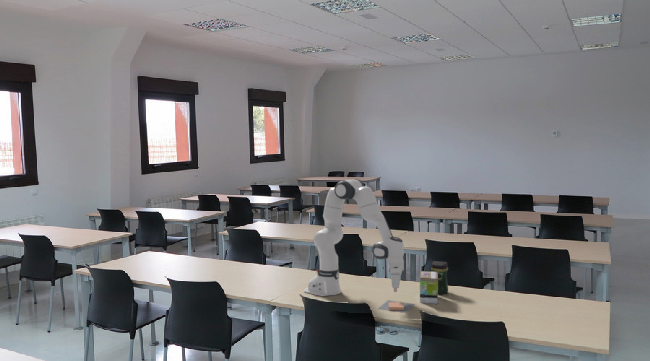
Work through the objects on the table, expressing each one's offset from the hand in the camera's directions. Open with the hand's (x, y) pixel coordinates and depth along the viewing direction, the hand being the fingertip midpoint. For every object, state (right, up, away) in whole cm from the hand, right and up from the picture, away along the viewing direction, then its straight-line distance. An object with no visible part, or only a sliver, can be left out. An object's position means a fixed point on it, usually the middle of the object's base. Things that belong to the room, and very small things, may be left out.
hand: (395, 291), depth 287 cm
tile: (0, -6, -3) cm, 7 cm away
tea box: (+20, -7, +8) cm, 22 cm away
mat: (0, -8, -5) cm, 9 cm away
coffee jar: (+29, -5, +21) cm, 36 cm away
